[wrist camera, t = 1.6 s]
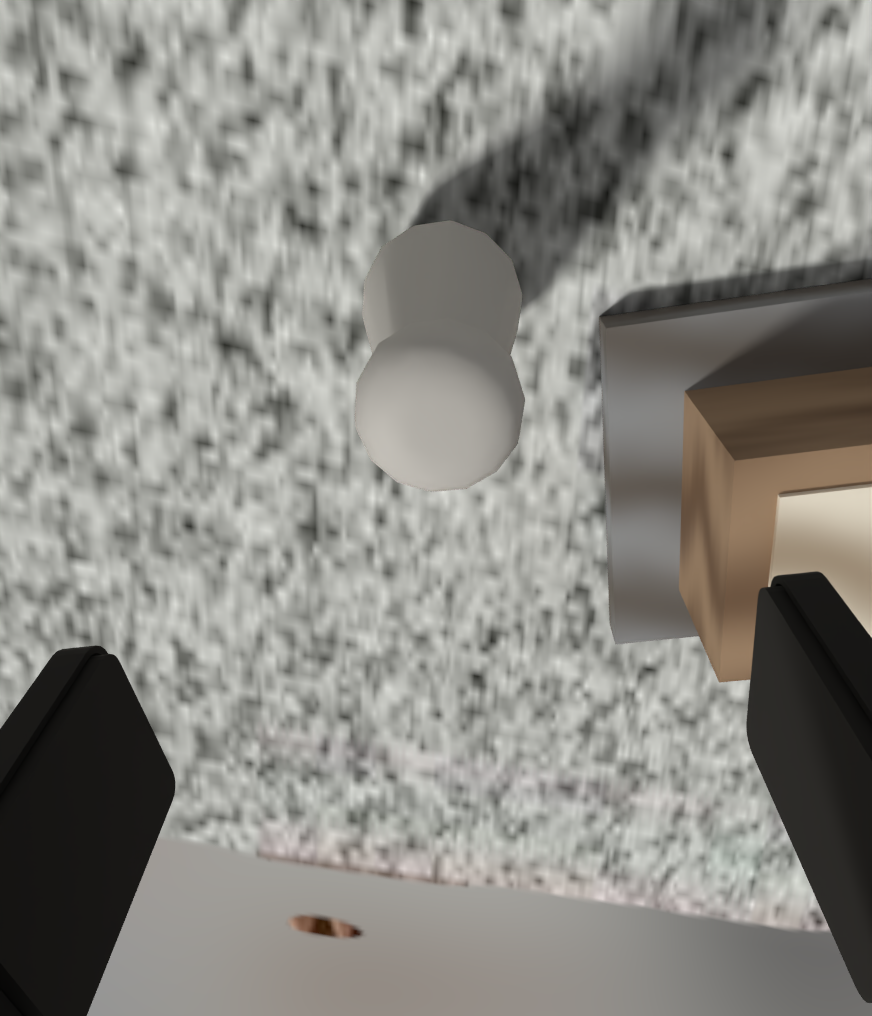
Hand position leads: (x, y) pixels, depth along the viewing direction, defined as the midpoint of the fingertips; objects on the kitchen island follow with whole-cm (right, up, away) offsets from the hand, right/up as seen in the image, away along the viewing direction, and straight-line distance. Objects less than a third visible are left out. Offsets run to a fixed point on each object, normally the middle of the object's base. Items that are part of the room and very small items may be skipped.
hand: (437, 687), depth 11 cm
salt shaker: (0, +11, +18) cm, 21 cm away
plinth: (+16, +4, +22) cm, 27 cm away
